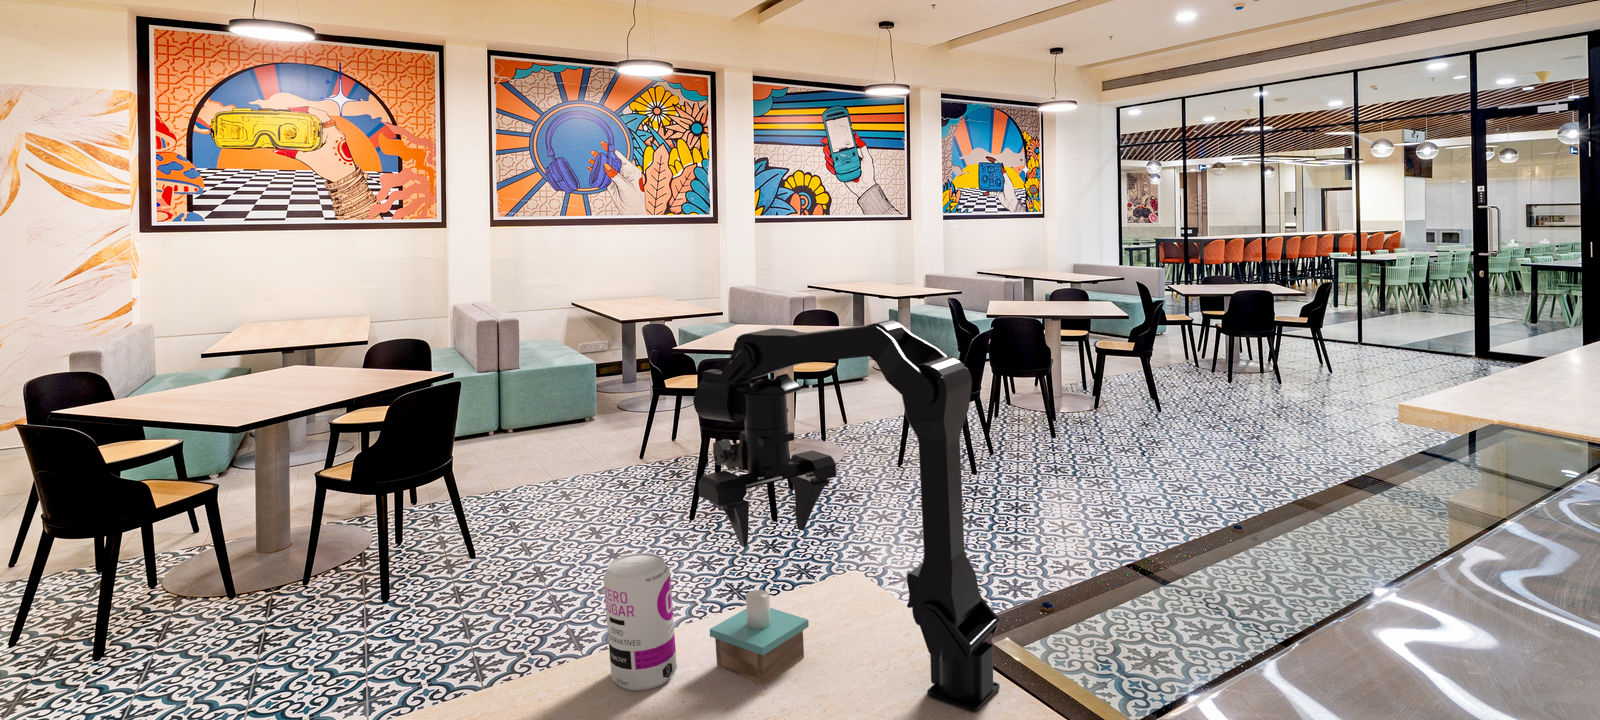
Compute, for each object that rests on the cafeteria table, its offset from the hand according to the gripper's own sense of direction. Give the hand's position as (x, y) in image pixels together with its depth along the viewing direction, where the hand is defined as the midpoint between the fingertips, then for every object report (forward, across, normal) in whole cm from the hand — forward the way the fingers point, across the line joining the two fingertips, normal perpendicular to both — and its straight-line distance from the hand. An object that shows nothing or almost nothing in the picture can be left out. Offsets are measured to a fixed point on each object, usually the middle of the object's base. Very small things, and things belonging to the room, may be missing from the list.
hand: (772, 537), depth 116 cm
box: (+14, +6, +4) cm, 16 cm away
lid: (+10, +6, +4) cm, 12 cm away
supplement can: (+14, +19, -2) cm, 24 cm away
